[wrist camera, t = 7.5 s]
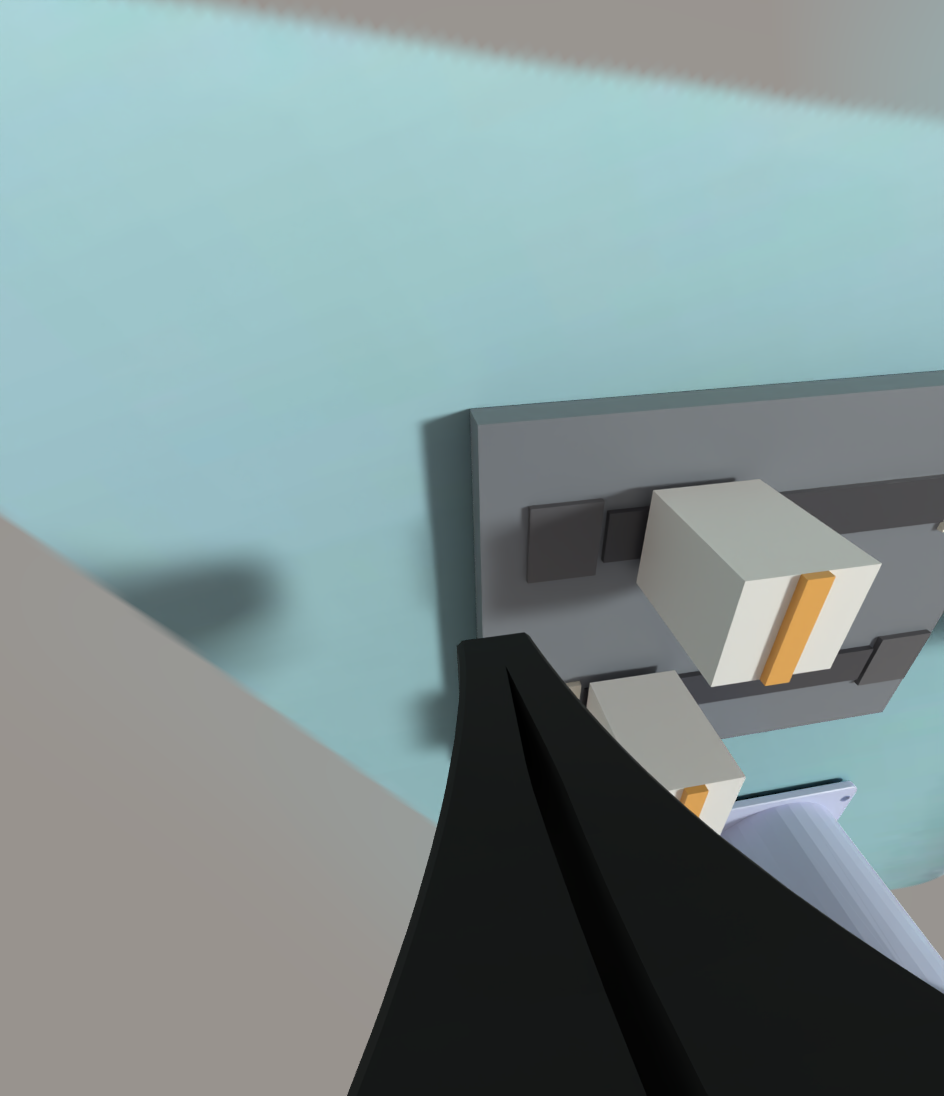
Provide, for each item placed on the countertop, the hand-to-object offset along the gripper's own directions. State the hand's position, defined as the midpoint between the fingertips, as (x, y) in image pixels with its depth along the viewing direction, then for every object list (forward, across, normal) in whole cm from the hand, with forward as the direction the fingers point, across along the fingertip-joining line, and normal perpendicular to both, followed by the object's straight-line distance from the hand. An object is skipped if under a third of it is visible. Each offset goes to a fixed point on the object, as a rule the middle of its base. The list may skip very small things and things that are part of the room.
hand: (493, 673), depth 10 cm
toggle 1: (+4, -5, +7) cm, 10 cm away
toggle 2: (+4, -7, 0) cm, 8 cm away
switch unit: (+6, -9, +4) cm, 11 cm away
